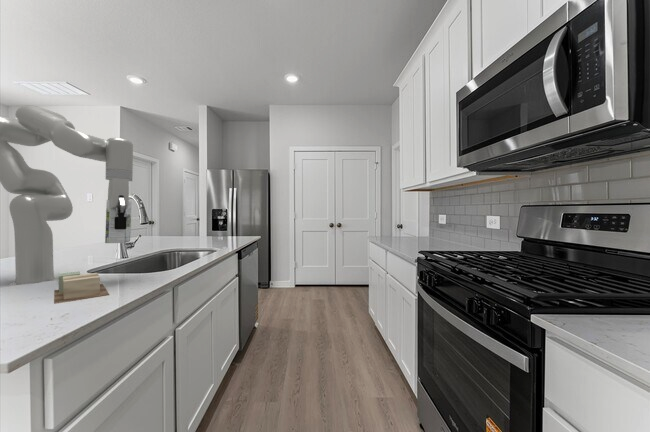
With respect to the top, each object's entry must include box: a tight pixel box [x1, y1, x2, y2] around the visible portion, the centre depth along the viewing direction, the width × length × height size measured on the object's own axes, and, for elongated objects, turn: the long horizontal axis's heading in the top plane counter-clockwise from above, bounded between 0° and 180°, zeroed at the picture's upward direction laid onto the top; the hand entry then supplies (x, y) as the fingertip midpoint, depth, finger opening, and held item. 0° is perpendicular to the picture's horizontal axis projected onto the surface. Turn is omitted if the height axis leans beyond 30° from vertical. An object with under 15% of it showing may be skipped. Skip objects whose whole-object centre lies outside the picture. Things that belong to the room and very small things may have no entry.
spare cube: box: [57, 271, 81, 293], centre depth 93 cm, size 5×5×5 cm
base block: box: [63, 272, 101, 300], centre depth 88 cm, size 8×8×5 cm
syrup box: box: [104, 199, 132, 244], centre depth 102 cm, size 6×6×14 cm
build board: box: [53, 283, 110, 305], centre depth 90 cm, size 18×12×2 cm, turn 42°
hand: (118, 228), depth 102 cm, fingers closed on syrup box, 7 cm apart
